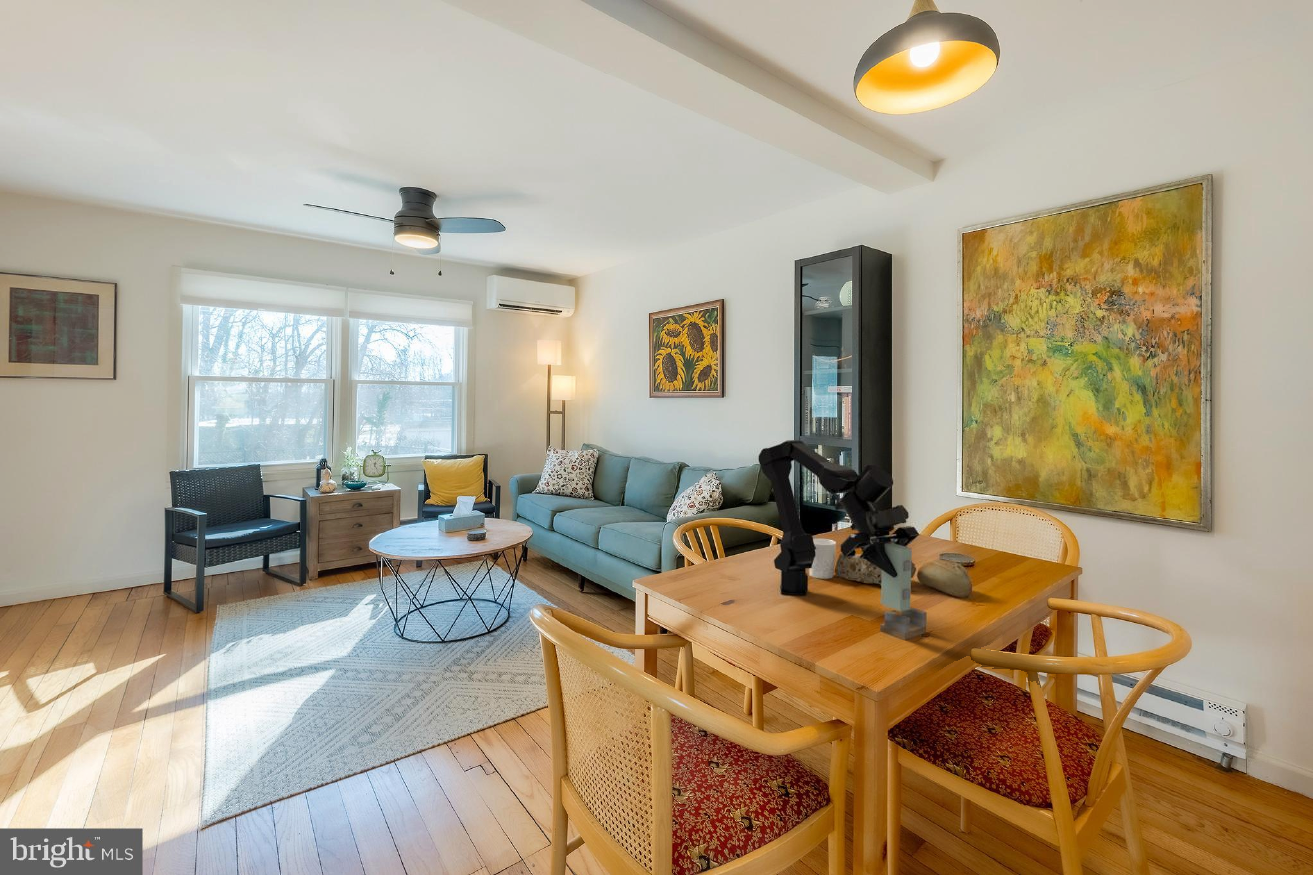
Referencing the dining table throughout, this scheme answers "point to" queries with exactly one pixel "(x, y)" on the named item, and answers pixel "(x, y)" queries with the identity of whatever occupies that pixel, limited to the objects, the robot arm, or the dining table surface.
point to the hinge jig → (904, 623)
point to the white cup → (823, 559)
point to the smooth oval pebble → (946, 577)
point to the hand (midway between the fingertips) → (901, 575)
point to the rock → (861, 569)
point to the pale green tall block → (897, 578)
